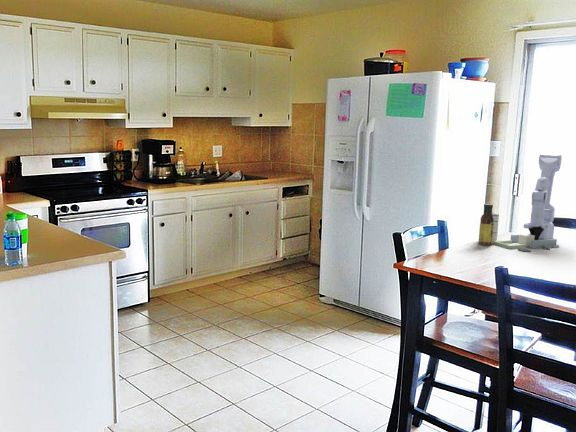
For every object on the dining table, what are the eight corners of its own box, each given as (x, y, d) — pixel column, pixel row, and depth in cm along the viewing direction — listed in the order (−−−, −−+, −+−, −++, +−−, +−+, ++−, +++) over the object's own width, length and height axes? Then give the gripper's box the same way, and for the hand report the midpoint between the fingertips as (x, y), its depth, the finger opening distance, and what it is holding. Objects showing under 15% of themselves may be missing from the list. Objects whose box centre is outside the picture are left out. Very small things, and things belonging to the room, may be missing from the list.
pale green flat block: (509, 242, 272) (509, 239, 272) (526, 247, 262) (526, 244, 262) (492, 243, 269) (492, 240, 268) (509, 248, 258) (509, 245, 258)
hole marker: (524, 248, 260) (524, 248, 260) (534, 251, 254) (534, 251, 254) (514, 249, 258) (514, 249, 258) (524, 252, 252) (524, 251, 252)
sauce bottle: (492, 246, 262) (496, 205, 259) (479, 245, 263) (483, 204, 260) (490, 243, 269) (494, 203, 265) (477, 242, 270) (481, 203, 266)
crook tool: (557, 246, 266) (557, 244, 266) (564, 248, 263) (564, 246, 263) (541, 247, 263) (542, 245, 263) (548, 249, 259) (548, 247, 259)
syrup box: (497, 242, 272) (499, 213, 269) (485, 242, 272) (487, 213, 269) (493, 240, 277) (495, 212, 275) (481, 239, 277) (484, 211, 275)
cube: (525, 243, 273) (526, 233, 272) (533, 245, 268) (534, 235, 267) (518, 243, 271) (519, 234, 270) (525, 246, 266) (526, 236, 265)
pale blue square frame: (532, 240, 280) (533, 233, 280) (555, 246, 267) (556, 239, 267) (510, 241, 275) (510, 234, 274) (532, 248, 262) (533, 241, 261)
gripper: (532, 216, 262) (529, 244, 265) (555, 215, 268) (552, 242, 270) (521, 214, 269) (518, 241, 271) (543, 213, 274) (540, 239, 277)
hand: (534, 241), depth 271 cm, fingers closed
